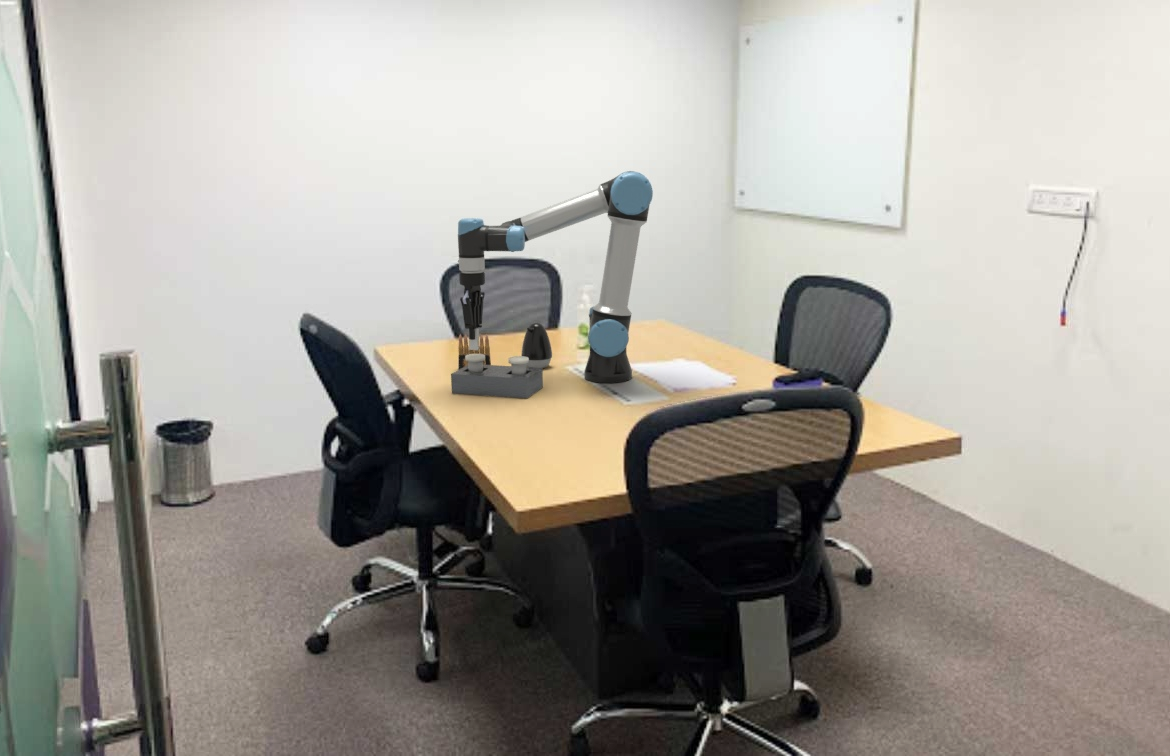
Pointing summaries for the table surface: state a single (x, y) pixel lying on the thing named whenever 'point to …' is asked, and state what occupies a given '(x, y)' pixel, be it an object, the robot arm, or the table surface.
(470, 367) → the knob far
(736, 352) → the table surface
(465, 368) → the housing
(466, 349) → the ammunition clip
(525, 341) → the pump dispenser
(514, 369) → the knob near
